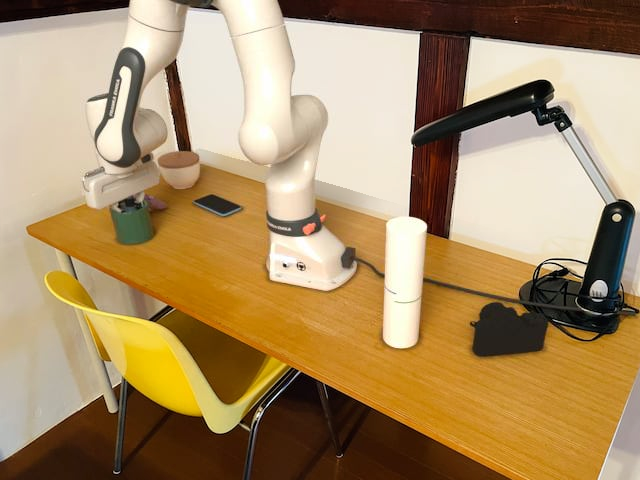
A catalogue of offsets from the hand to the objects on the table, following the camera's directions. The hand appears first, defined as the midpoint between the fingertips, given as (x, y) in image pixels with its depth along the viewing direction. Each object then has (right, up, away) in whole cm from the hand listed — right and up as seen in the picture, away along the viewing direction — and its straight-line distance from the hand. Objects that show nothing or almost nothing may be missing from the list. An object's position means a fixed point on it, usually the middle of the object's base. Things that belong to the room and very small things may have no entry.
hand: (130, 212), depth 139 cm
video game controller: (-2, +2, +18) cm, 18 cm away
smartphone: (+18, +4, +20) cm, 27 cm away
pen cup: (0, -6, +4) cm, 7 cm away
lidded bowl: (+3, +12, +34) cm, 36 cm away
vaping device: (0, -5, +4) cm, 6 cm away
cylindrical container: (+68, -29, -32) cm, 80 cm away
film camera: (+88, -29, -33) cm, 98 cm away
